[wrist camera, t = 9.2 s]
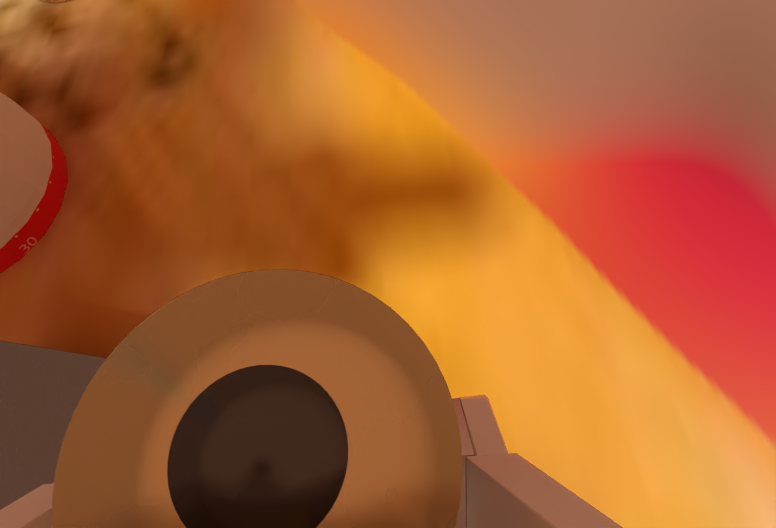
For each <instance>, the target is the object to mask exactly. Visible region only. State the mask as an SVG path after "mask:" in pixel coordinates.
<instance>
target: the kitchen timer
mask: <svg viewBox="0 0 776 528" xmlns="http://www.w3.org/2000/svg"><path fill="white" fill-rule="evenodd" d="M67 182H68V180H67V167H66V157H65V155H64V154H63V152H62V150H61V148H60V146H59V144H58V142H57V140H56V138H55V137H54V136H53V135H52V134H51V133H50V132H49V131H48V130H47V129H46V128H45V127H44V126H43V125H42V124H41V123H40V122H39V121H38V120H36V119H35V118H34V117H33V116H31V115H30V114H29V113H28V112H27V111H25V110H24V109H23V108H22V107H21V106H19V105H18V104H17V103H16V102H14V101H13V100H12V99H10V98H9V97H7V96H6V95H4V94H3V93H1V92H0V273H1V272H3V271H4V270H6V269H7V268H9V267H10V266H12V265H13V264H15V263H16V262H18V261H19V260H21V259H22V258H23V256H24V255H25V254H26V253H27V252H28V251H29V250H30V249H31V248H32V247H33V246H34V245H35V244H36V243H37V242H38V241H39V240H40V239H41V238H42V237H43V236H44V235H45V233H46V231H47V230H48V228H49V226H50V225H51V223H52V221H53V220H54V218H55V216H56V215H57V213H58V211H59V210H60V208H61V205H62V201H63V197H64V193H65V189H66V186H67Z"/></svg>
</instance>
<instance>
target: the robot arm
mask: <svg viewBox="0 0 776 528" xmlns="http://www.w3.org/2000/svg"><path fill="white" fill-rule="evenodd" d="M452 401H453V404H454V407H455V410H456V415H457V420H458V425H459V431H460V436H461V447H462V462H463V471H462V489H461V499H460V504H459V510H458V516H457V521H456V526H455V528H623V527H621V526H620V525H618V524H617V523H615V522H614V521H613V520H611V519H610V518H608V517H607V516H605V515H604V514H603V513H601V512H600V511H598V510H597V509H595V508H594V507H593V506H591V505H590V504H588V503H587V502H586V501H584V500H583V499H581V498H580V497H578V496H577V495H576V494H574V493H573V492H571V491H570V490H568V489H567V488H566V487H564V486H563V485H561V484H560V483H558V482H557V481H556V480H554V479H553V478H551V477H550V476H548V475H547V474H546V473H544V472H543V471H541V470H540V469H538V468H537V467H536V466H534V465H533V464H531V463H530V462H528V461H527V460H526V459H524V458H523V457H521V456H520V455H518V454H517V453H512V454H508V451H507V448H506V446H505V443H504V440H503V437H502V435H501V432H500V429H499V427H498V424H497V421H496V418H495V416H494V413H493V410H492V407H491V405H490V402H489V399H488V397H487V396H485V395H478V396H468V397H459V398H454V399H452ZM53 488H54V482H53V484H43V485H41V486H40V487H38V488H36V489H35V490H33V491H31V492H30V493H28V494H26V495H25V496H23V497H21V498H20V499H18V500H16V501H15V502H13V503H11V504H9V505H8V506H6V507H4V508H3V509H1V510H0V528H52V496H53Z"/></svg>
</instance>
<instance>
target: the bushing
mask: <svg viewBox="0 0 776 528" xmlns="http://www.w3.org/2000/svg"><path fill="white" fill-rule="evenodd" d="M462 471H463V462H462V447H461V436H460V431H459V425H458V420H457V415H456V410H455V407H454V404H453V401H452V398H451V395H450V392H449V389H448V386H447V384H446V381H445V379H444V377H443V375H442V373H441V371H440V369H439V367H438V365H437V363H436V361H435V359H434V358H433V356H432V355H431V353H430V352H429V350H428V348H427V347H426V345H425V344H424V342H423V341H422V340H421V339H420V337H419V336H418V335H417V334H416V333H415V331H414V330H413V329H412V328H411V327H410V326H409V324H408V323H407V322H406V321H404V320H403V319H402V318H401V317H400V316H399V315H398V314H397V313H396V312H395V311H394V310H392V309H391V308H390V307H389V306H387V305H386V304H384V303H383V302H382V301H380V300H379V299H377V298H376V297H374V296H373V295H371V294H370V293H368V292H366V291H364V290H362V289H360V288H358V287H356V286H354V285H352V284H350V283H347V282H344V281H342V280H339V279H336V278H333V277H331V276H326V275H322V274H318V273H313V272H309V271H299V270H289V269H273V270H258V271H251V272H243V273H239V274H235V275H231V276H227V277H223V278H219V279H216V280H214V281H211V282H209V283H206V284H203V285H201V286H198V287H196V288H194V289H192V290H190V291H188V292H186V293H184V294H182V295H180V296H178V297H176V298H174V299H173V300H171V301H170V302H168V303H167V304H165V305H164V306H162V307H161V308H159V309H158V310H156V311H155V312H153V313H152V314H151V315H150V316H148V317H147V318H146V319H145V320H144V321H142V322H141V323H140V324H139V325H137V326H136V327H135V328H134V329H133V330H132V331H131V332H130V333H129V334H128V335H127V336H126V337H125V338H124V339H123V340H122V341H121V342H120V343H119V344H118V345H117V346H116V347H115V349H114V350H113V351H112V352H111V354H110V355H109V356H108V357H107V359H106V360H105V361H104V362H103V364H102V365H101V366H100V367H99V369H98V370H97V372H96V374H95V375H94V377H93V378H92V380H91V381H90V383H89V385H88V386H87V388H86V389H85V391H84V393H83V395H82V397H81V399H80V401H79V403H78V405H77V407H76V409H75V411H74V413H73V415H72V418H71V420H70V423H69V426H68V429H67V431H66V434H65V437H64V440H63V442H62V446H61V450H60V455H59V459H58V463H57V467H56V471H55V479H54V488H53V496H52V528H455V526H456V521H457V516H458V510H459V504H460V499H461V489H462Z"/></svg>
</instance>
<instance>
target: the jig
mask: <svg viewBox="0 0 776 528" xmlns="http://www.w3.org/2000/svg"><path fill="white" fill-rule="evenodd" d="M106 359H107V358H103V357H97V356H91V355H85V354H79V353H73V352H67V351H61V350H54V349H48V348H42V347H36V346H30V345H24V344H18V343H12V342H6V341H0V510H1V509H3V508H4V507H6V506H8V505H9V504H11V503H13V502H15V501H16V500H18V499H20V498H21V497H23V496H25V495H26V494H28V493H30V492H31V491H33V490H35V489H36V488H38V487H40V486H41V485H43V484H53V482H54V479H55V471H56V467H57V463H58V459H59V455H60V450H61V446H62V442H63V440H64V437H65V434H66V431H67V429H68V426H69V423H70V420H71V418H72V415H73V413H74V411H75V409H76V407H77V405H78V403H79V401H80V399H81V397H82V395H83V393H84V391H85V389H86V388H87V386H88V385H89V383H90V381H91V380H92V378H93V377H94V375H95V374H96V372H97V370H98V369H99V367H100V366H101V365H102V364H103V362H104V361H105V360H106Z"/></svg>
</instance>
